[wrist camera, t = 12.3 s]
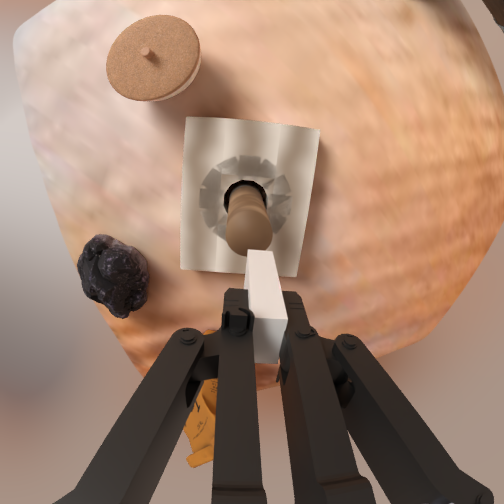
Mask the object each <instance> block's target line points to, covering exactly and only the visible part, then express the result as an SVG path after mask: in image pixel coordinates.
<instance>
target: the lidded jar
mask: <svg viewBox="0 0 504 504" xmlns="http://www.w3.org/2000/svg"><path fill="white" fill-rule="evenodd" d="M200 64H201V49H200V44H199V40H198V37H197V35H196V33H195V31H194V30H193V28H192V27H191V26H190V25H189V24H188V23H187V22H185V21H184V20H182V19H180V18H177V17H174V16H169V15H156V16H150V17H146V18H144V19H141V20H139V21H137V22H135V23H133V24H132V25H130V26H129V27H127V28H126V29H125V30H124V31H123V32H122V33H121V34H120V35H119V36H118V37H117V39H116V40H115V41H114V43H113V45H112V47H111V49H110V51H109V54H108V57H107V63H106V71H107V76H108V79H109V82H110V84H111V85H112V87H113V88H114V89H115V90H116V91H117V92H118V93H119V94H121V95H122V96H124V97H126V98H129V99H132V100H136V101H161V100H165V99H168V98H171V97H173V96H175V95H177V94H179V93H180V92H182V91H183V90H185V89H186V88H187V87H188V86H189V85H190V84H191V82H192V81H193V80H194V78H195V77H196V75H197V73H198V70H199V67H200Z"/></svg>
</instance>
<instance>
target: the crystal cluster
mask: <svg viewBox="0 0 504 504" xmlns="http://www.w3.org/2000/svg"><path fill="white" fill-rule="evenodd" d="M77 267H78V272H79V274H80V278H81V280H82V288H83V291H84V293H85V294H86V296H87V297H89V298H90V299H92V300H94V301H96V302H98V303H102V304H104V305H105V306H106V307H107V308H108V309H109V311H110V312H111V314H112V315H114V316H115V317H117V318H122V319H124V318H127V317H128V316H129V313H130V311H136V310H138V309H140V308H141V307H142V306H143V305H144V304H145V302H146V301H147V292H146V289H147V287H148V283H149V273H148V271H147V261H146V259H145V258H144V257H143V256H142V255H141V254H140V253H139V251H137V250H136V249H135V248H134V247H133V246H127V245H124V244H123V243H121V242H120V241H118V240H117V239H116V240H115V239H114V238H112V237H111V236H108V235H102V234H99V235H95V236H94V237H93V238H92V239H91V240H90V241H89V242H88V243H87V244H86V245H85V247H84V249H83V253H82V254H81V255H80V257H79V260H78V264H77Z"/></svg>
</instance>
